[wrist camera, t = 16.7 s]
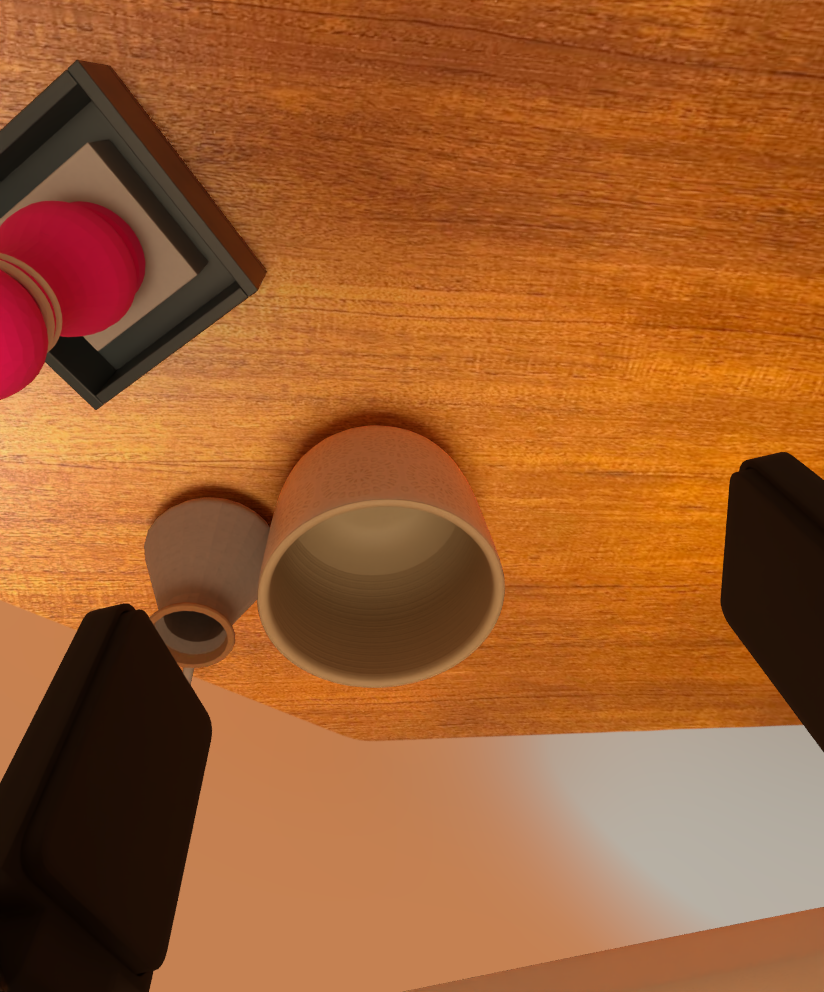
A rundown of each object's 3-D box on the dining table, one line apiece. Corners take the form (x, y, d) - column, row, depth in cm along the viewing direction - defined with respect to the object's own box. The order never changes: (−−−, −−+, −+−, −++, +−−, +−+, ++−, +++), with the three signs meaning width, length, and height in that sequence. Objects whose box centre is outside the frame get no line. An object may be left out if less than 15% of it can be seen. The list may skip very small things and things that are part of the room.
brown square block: (109, 138, 39) (87, 141, 36) (208, 262, 44) (197, 274, 40) (11, 224, 41) (-19, 234, 38) (115, 333, 46) (97, 352, 42)
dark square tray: (109, 65, 38) (76, 59, 33) (267, 271, 45) (258, 290, 40) (-51, 210, 41) (-102, 223, 36) (119, 381, 48) (95, 410, 44)
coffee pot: (158, 470, 53) (99, 585, 40) (294, 496, 55) (279, 612, 43) (140, 649, 63) (89, 785, 50) (255, 664, 66) (234, 797, 53)
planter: (278, 392, 50) (255, 491, 37) (484, 408, 52) (529, 506, 40) (276, 560, 59) (257, 687, 46) (452, 567, 61) (481, 690, 48)
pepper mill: (105, 170, 37) (-96, 222, 20) (177, 284, 41) (58, 409, 24) (4, 224, 38) (-269, 317, 21) (83, 330, 42) (-94, 482, 25)
